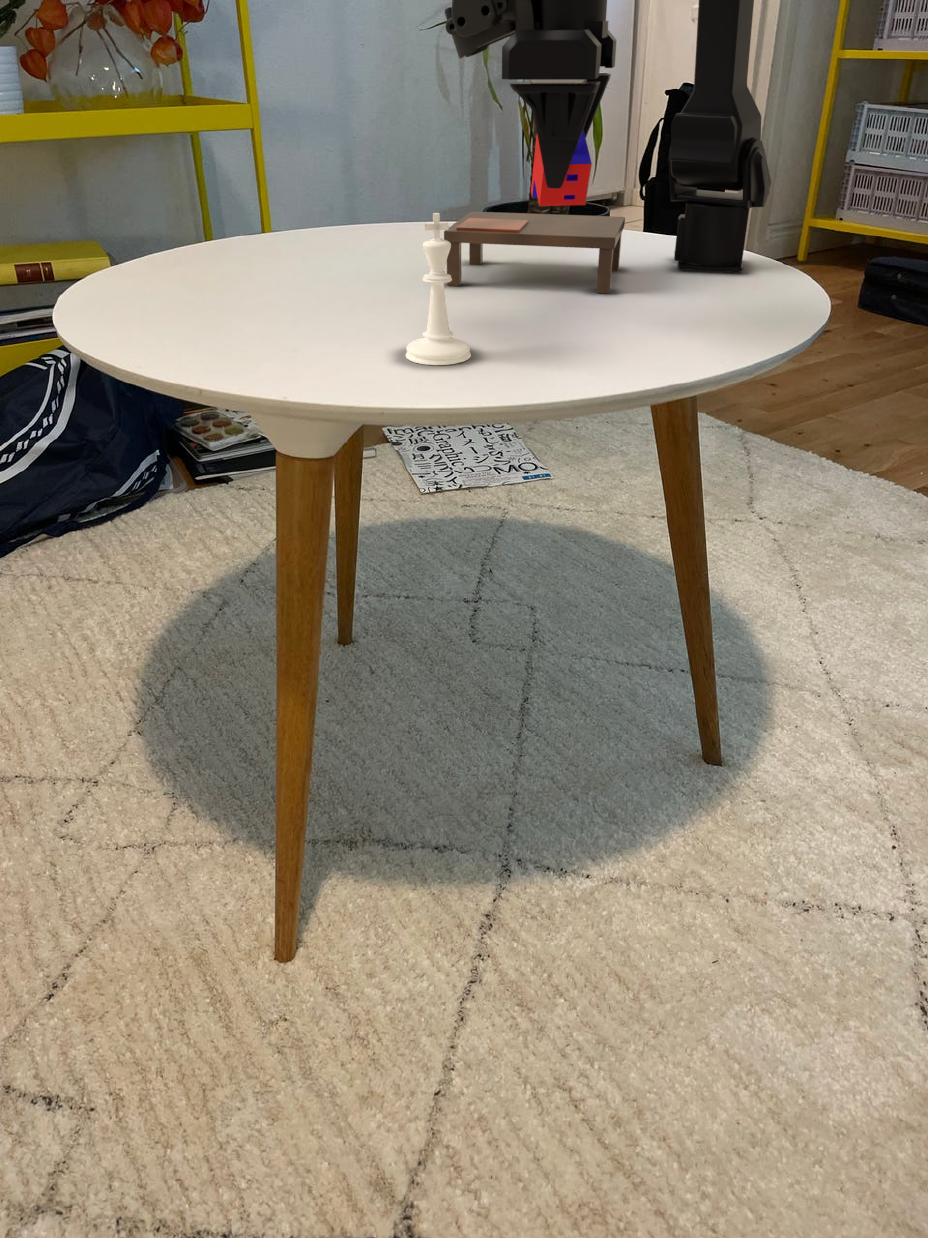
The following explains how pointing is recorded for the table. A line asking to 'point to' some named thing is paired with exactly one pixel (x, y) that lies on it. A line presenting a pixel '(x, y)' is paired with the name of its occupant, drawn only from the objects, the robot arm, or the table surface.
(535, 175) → the toy building block
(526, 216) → the miniature wooden table
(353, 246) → the table surface
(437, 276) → the chess piece
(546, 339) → the table surface
